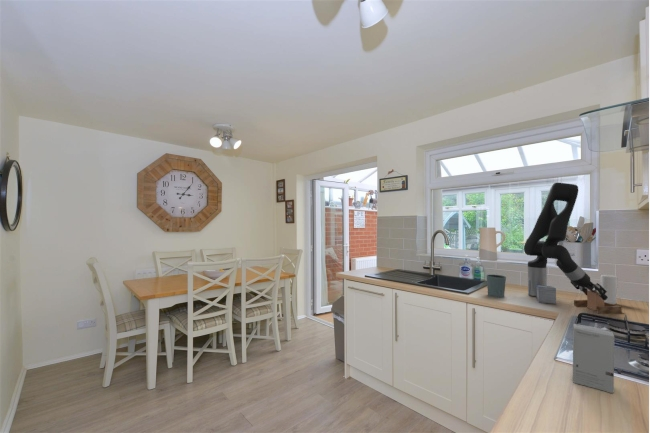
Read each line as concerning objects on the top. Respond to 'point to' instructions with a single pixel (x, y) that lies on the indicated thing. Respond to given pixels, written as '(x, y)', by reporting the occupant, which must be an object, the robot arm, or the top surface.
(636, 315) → the top surface
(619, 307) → the frame
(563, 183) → the robot arm
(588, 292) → the terracotta block
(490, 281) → the green plant pot
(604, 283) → the drinking glass
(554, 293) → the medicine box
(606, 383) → the grey upright rectangular block
